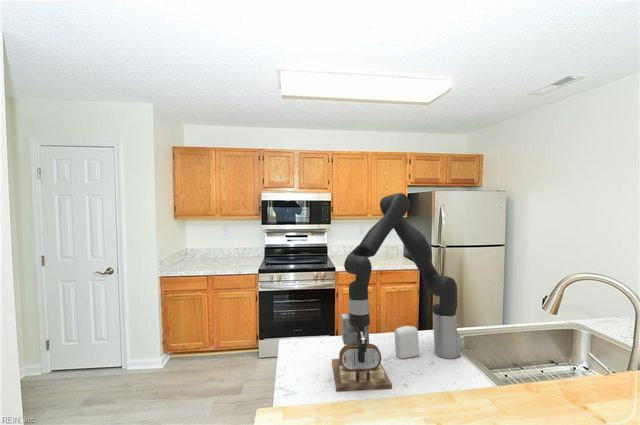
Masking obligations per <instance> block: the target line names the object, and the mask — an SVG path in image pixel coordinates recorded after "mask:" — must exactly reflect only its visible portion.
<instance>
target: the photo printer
mask: <svg viewBox="0 0 640 425" xmlns="http://www.w3.org/2000/svg"><path fill="white" fill-rule="evenodd" d="M419 341H420V340H419V331H418V328H417V327H415V326H412V325H404V326H400V327H398V328H396V329H394V344H395V345H394V347H395V355H396V356H395V357H396V358H397V359H399V360H402V359H408V358H414V357H419V356H420V343H419Z"/></svg>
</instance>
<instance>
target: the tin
mask: <svg viewBox="0 0 640 425" xmlns="http://www.w3.org/2000/svg"><path fill="white" fill-rule="evenodd" d="M338 354H339V356H338V359H340V362H341V364H342V366H343V367H344V368H345V369H347V370H351V371H353V370H373V369H376V368H377V367H378V366H379V365H380V363H381V364H382V353H381V351H380V350H379V348H378V346H376V345H375V344H372V343H369V344H367V346H366V352H365V362H364V363H359V361H358V345H357V344H348V345H344V346H343V347H342V348H340V351H339V353H338Z"/></svg>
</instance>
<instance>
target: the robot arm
mask: <svg viewBox="0 0 640 425" xmlns="http://www.w3.org/2000/svg"><path fill="white" fill-rule="evenodd" d="M410 206H411V202H410V199H409V197H408V196H407V195H406V194H405V193H402V192H398V193H393V194H390V195H386V196H384V197H382V198H381V199H380V200H379V208H380V211H381V213H382V215H383V217H381V219H380V220H379V221H378V222H376V223H375V224H374V225H373V226H372V227H371V228H370V229H369V230H368V231H367V233H366V234H365V235H364V237H363V238H362V240H361V241H360V243H359V244H358V245H357V246H355V248H354V249H353V250H352V251H351V252H350V253H348V255H346V258H345V260H344V264H343V267H344V270H345V271H346V273H348V274H350V275H354V276H355V277H354V278H355V279H354V281H351V282H350V283H349V284H348V314H349V324H350V325H351V326H354V339H355V343H356V344H357V345H358V361H359V363H364V362H365V352H366V346H367V338H366V331H365V327H366V326H370V325H371V324H370V323H371V314H370V301H369V285H370V279H371V275H372V270H373V269H372V268H373V266H372V263H371V261H370V259H369V258H372V257H374V256H376V254H377V253H378V251H379V250H380V248H381V246H382V244H383V243H384V241H385V240H386V239H387V236H388V235H389V234H390V233H391V232H392V230H393V229H394V230H393V231H395V233H396V235H397V236H398V237H399V239H400V241H401V242H402V243H403V245H404V248H405V249H406V251H407V253H408V254H409V256H410V257H411V259H412V261H413V263H414V264H415V266H416V268H417V270H418V271H419V273H420V275H421V277H422V280H423V281H424V284H425V286H426V288H427V290H428V291H429V292H430V294H432V295H433V296H435V297H439V302H438V303H436V304H433V305H432V321H433V323H432V324H433V325H432V326H433V340H434V342H433V343H434V353H435V355H436V356H438V357H440V358H441V359H448V360H449V359H450V360H452V359H458V358H459V357H461V356H462V355H461V341H460V339H461V338H460V333H459V332H458V326H457V325H458V324H457V309H458V285H457V283H456V281H455V279H454V278H453V277H451V276H445V275H441V274H440V273H439V272H438V271H437V270H436V268H435V267H434V264H433V252H432V248H431V247H432V246H431V245H430V244H429V242H428V240H427V239H426V237H425V235H424V234H423V233H422V232H420V231H419V229H417V228H416V227H414V226H412V225H411V224H410V223H409V222H407V220H406V219H405V217H404V216H405V215H406V214H407V213H408V211H409V210H410Z"/></svg>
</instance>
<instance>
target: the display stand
mask: <svg viewBox="0 0 640 425" xmlns="http://www.w3.org/2000/svg"><path fill="white" fill-rule="evenodd" d="M369 326H370V325H369ZM369 326H366V327H365V331H366V338H367V344H370V331H369ZM341 338H342V343H343V345H344V346H345V345H348V344H356V343H355V339H354V326H351V325H350V324H349V313H342V314H341ZM331 361H332V362H331V364H332V371H333V376H334V382H335V388H336V392H354V391H355V392H356V391H358V392H359V391H375V390H376V391H377V390H392V389H393V383H392V382H391V379H390V378H389V376H388V374H387V373H386V370H385V368H384V367H383V365H382V362H381V363H380V365H379V366H378V367H377V368H376V369H373V370H353V371H351V370H347V369H345V368H344V367H343V366H342V364H341V362H340V359H339V358H332V359H331Z"/></svg>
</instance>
